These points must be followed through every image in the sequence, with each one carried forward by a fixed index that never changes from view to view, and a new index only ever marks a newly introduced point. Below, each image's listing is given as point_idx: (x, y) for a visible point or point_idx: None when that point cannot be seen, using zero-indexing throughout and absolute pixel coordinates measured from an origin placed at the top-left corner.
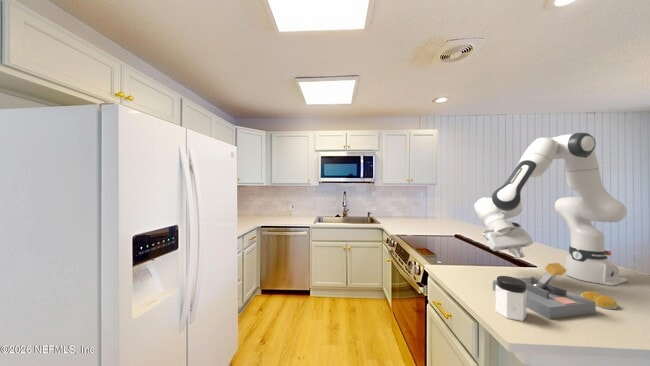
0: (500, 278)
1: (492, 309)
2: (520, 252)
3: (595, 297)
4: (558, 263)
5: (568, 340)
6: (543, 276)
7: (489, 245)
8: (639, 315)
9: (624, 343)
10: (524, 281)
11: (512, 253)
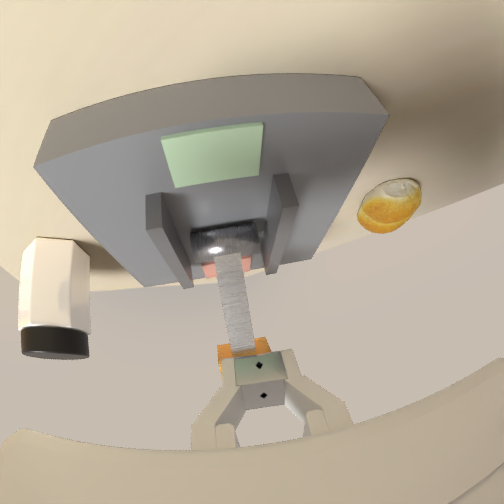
0: (30, 355)
1: (17, 245)
2: (272, 405)
3: (378, 221)
4: None
5: (125, 286)
6: (224, 315)
7: (3, 477)
8: None
9: (215, 279)
10: (246, 169)
11: (211, 401)
